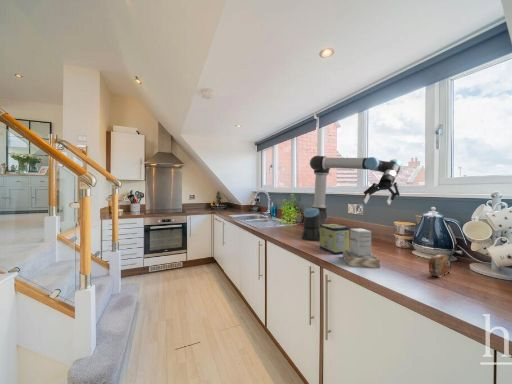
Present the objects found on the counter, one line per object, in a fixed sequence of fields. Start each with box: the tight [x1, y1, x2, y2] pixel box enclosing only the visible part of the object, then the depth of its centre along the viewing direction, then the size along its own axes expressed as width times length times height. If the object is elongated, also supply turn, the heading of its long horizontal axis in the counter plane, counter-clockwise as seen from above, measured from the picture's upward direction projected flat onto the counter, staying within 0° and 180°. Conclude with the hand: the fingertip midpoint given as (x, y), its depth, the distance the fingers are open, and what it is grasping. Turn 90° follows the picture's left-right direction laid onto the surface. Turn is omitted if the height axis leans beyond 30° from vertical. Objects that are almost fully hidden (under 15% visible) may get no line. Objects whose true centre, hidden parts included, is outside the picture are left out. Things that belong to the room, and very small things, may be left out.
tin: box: [428, 253, 452, 278], centre depth 90 cm, size 15×3×8 cm, turn 117°
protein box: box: [319, 223, 350, 255], centre depth 127 cm, size 10×16×16 cm
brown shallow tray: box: [342, 249, 381, 269], centre depth 107 cm, size 14×14×4 cm
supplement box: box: [349, 228, 372, 256], centre depth 106 cm, size 7×7×13 cm
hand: (375, 202), depth 123 cm, fingers open, 13 cm apart
